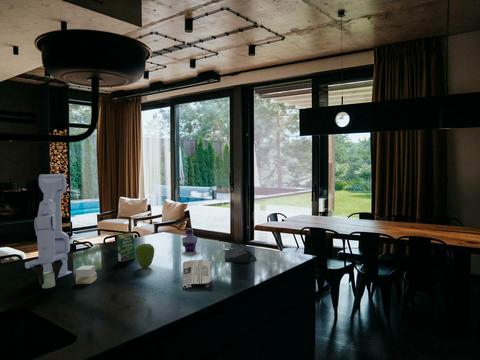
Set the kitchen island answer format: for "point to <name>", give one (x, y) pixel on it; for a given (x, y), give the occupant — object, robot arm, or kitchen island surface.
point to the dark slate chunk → (239, 255)
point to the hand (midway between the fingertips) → (48, 282)
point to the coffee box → (125, 247)
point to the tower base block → (86, 279)
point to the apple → (144, 255)
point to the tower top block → (85, 271)
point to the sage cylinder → (48, 279)
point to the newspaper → (196, 272)
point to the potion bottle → (189, 241)
